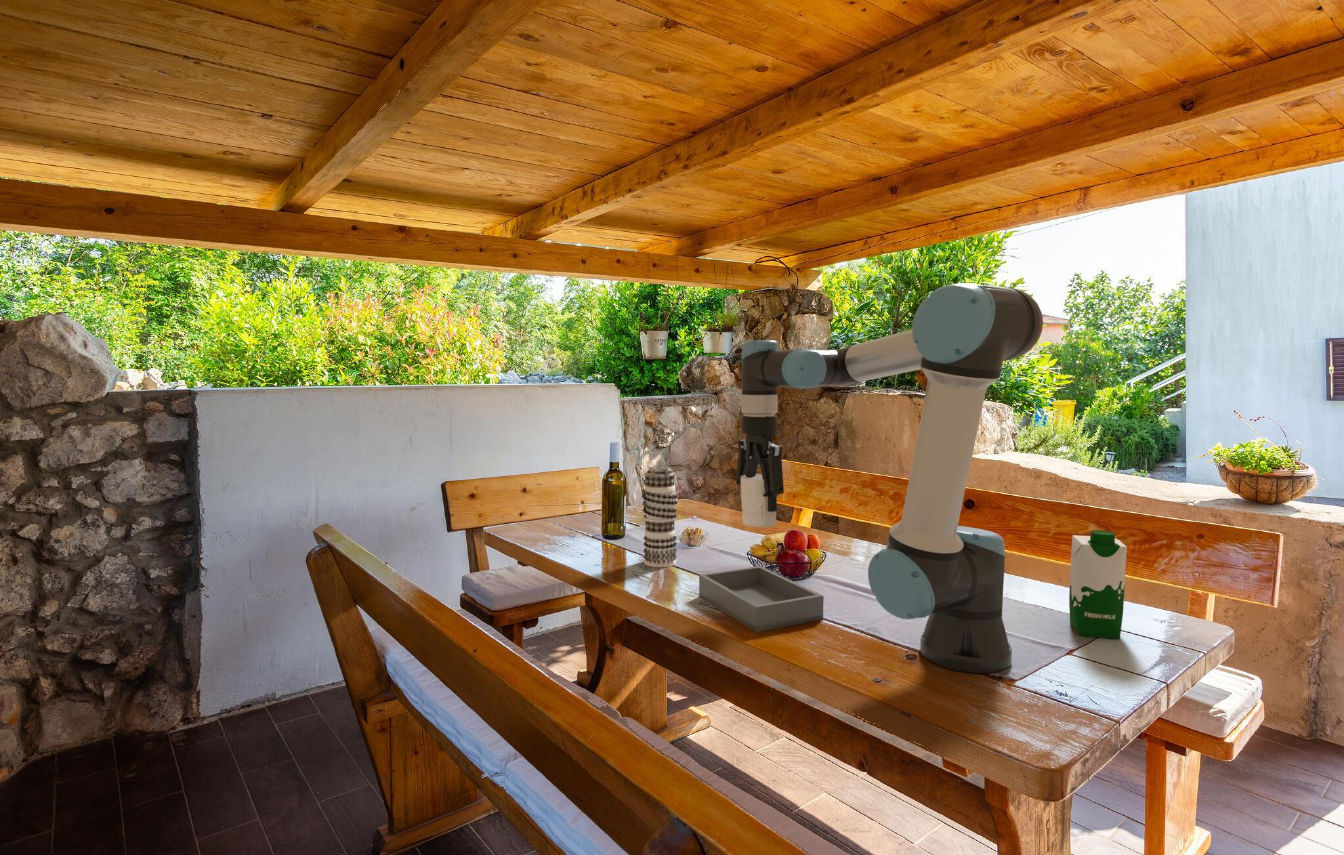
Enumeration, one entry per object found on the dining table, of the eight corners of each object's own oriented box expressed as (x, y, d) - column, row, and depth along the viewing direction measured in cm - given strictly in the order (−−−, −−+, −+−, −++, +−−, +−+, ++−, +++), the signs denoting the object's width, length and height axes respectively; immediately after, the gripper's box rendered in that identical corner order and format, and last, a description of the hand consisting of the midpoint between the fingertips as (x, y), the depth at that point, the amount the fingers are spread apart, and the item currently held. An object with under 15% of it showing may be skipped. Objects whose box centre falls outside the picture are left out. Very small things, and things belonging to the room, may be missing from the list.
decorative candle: (636, 560, 194) (635, 466, 192) (667, 556, 199) (667, 464, 196) (652, 569, 186) (651, 471, 184) (684, 564, 191) (683, 468, 188)
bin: (823, 619, 150) (823, 595, 150) (755, 632, 143) (756, 607, 143) (760, 586, 172) (760, 565, 171) (699, 596, 165) (699, 574, 164)
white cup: (776, 519, 159) (777, 474, 158) (778, 528, 152) (779, 480, 151) (740, 519, 160) (740, 473, 159) (740, 527, 152) (740, 479, 151)
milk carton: (1075, 637, 140) (1080, 533, 138) (1063, 620, 149) (1068, 523, 147) (1127, 641, 138) (1133, 536, 136) (1112, 624, 146) (1117, 526, 145)
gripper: (803, 417, 146) (801, 530, 148) (749, 411, 164) (749, 512, 167) (771, 419, 143) (770, 534, 145) (720, 412, 161) (719, 515, 163)
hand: (758, 522), depth 156 cm, fingers closed on white cup, 7 cm apart
